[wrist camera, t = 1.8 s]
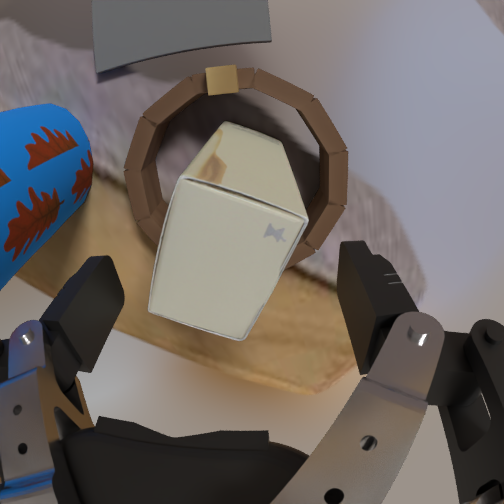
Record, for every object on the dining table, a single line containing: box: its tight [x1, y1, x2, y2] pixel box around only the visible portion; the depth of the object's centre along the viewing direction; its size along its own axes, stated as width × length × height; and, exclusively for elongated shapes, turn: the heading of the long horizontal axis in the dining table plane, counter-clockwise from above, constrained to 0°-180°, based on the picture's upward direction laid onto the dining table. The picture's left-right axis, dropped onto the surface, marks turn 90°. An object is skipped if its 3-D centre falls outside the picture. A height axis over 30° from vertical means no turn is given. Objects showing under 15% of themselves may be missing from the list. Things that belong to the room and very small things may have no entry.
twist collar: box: [124, 65, 348, 270], centre depth 19 cm, size 14×14×4 cm
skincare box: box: [148, 121, 309, 341], centre depth 15 cm, size 6×4×12 cm
